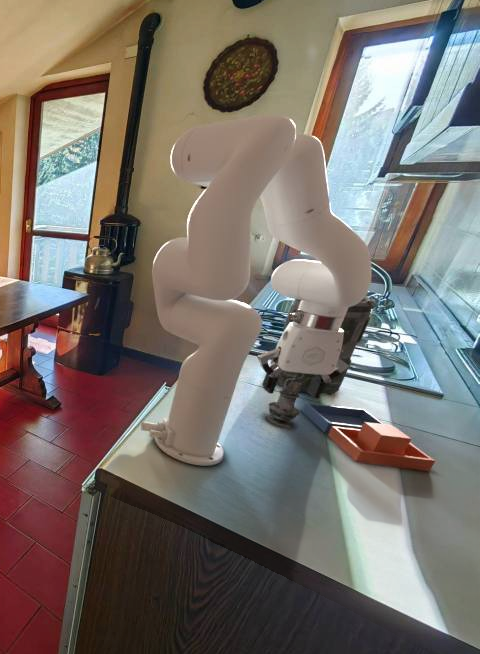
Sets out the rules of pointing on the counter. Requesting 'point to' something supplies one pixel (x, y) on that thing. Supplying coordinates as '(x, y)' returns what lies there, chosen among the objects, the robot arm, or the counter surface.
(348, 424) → the blue tray
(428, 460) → the terracotta tray
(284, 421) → the dark chess piece
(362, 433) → the terracotta block
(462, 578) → the counter surface
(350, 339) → the canister
